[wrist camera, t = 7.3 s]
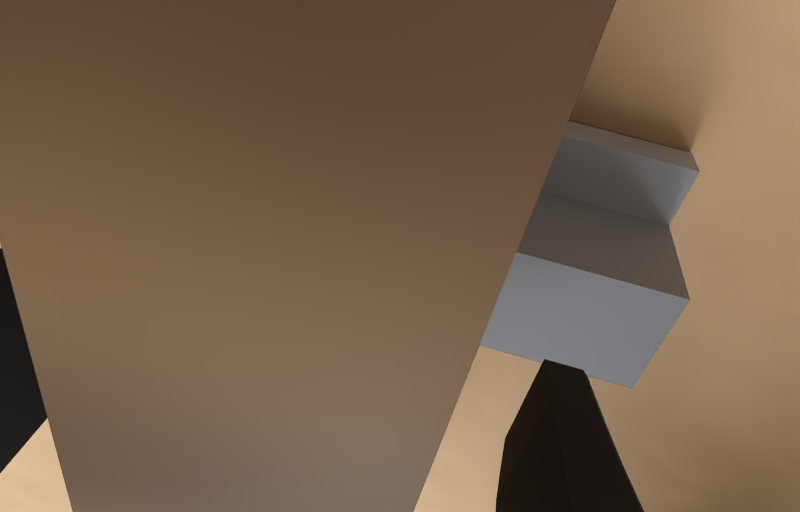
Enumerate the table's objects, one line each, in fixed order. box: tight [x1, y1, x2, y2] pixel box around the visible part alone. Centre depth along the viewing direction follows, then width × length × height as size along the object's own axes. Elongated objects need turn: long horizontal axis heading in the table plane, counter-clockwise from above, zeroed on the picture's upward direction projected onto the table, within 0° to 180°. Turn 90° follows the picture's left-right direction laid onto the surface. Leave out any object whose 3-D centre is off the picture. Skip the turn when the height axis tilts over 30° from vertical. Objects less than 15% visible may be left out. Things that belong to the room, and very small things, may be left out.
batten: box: [0, 0, 616, 512], centre depth 9 cm, size 14×4×6 cm, turn 169°
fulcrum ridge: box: [480, 121, 699, 388], centre depth 13 cm, size 5×12×3 cm, turn 80°
